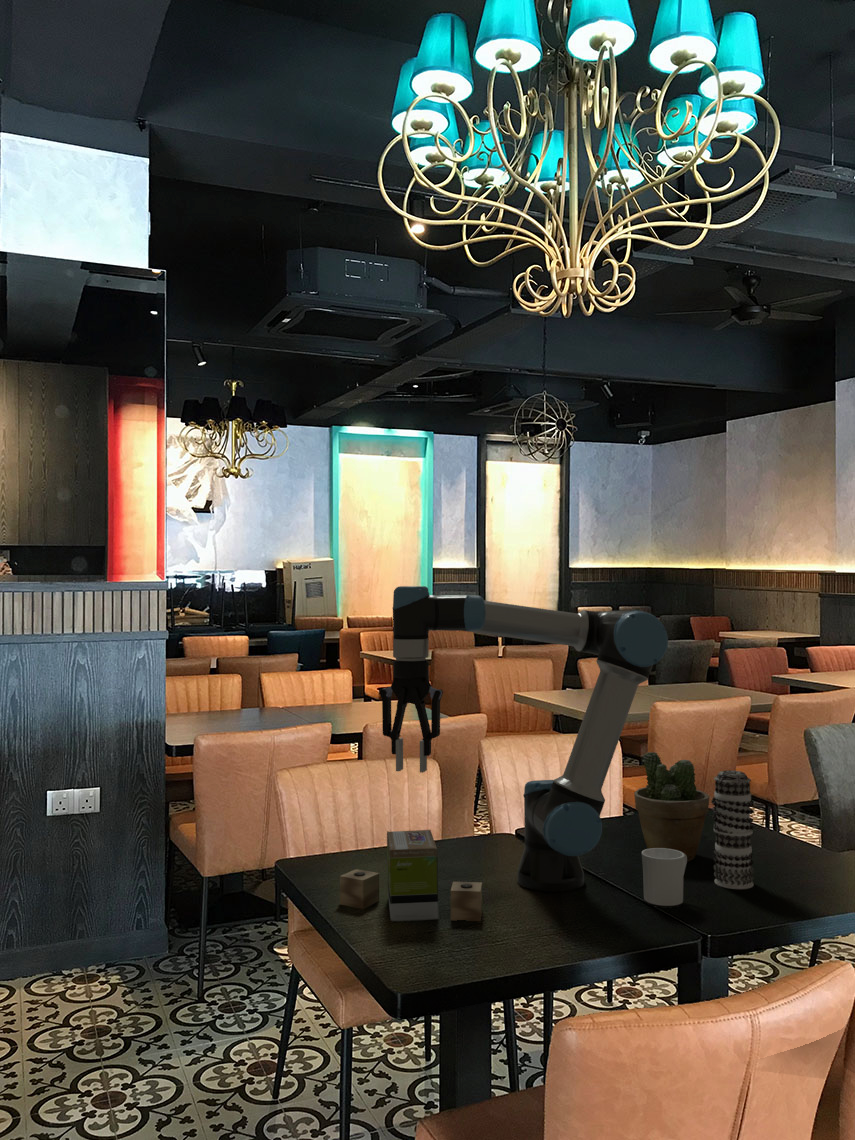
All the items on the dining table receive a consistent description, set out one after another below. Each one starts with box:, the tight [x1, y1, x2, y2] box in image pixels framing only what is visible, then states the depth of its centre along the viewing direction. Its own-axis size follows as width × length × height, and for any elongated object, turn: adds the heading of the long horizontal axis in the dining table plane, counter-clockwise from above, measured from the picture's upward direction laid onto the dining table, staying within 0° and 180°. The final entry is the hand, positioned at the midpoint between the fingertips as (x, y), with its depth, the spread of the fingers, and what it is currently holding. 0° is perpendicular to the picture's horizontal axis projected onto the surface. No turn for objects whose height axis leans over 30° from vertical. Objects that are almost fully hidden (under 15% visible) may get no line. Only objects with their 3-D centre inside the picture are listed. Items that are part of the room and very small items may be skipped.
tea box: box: [386, 829, 439, 922], centre depth 196 cm, size 15×10×15 cm, turn 5°
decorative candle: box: [710, 769, 755, 890], centre depth 213 cm, size 9×9×25 cm
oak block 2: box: [450, 881, 483, 922], centre depth 192 cm, size 6×6×6 cm
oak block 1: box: [339, 868, 380, 910], centre depth 200 cm, size 6×6×6 cm
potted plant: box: [634, 751, 710, 862], centre depth 236 cm, size 18×19×25 cm
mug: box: [641, 848, 688, 909], centre depth 200 cm, size 11×9×10 cm
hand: (411, 770), depth 197 cm, fingers open, 4 cm apart
